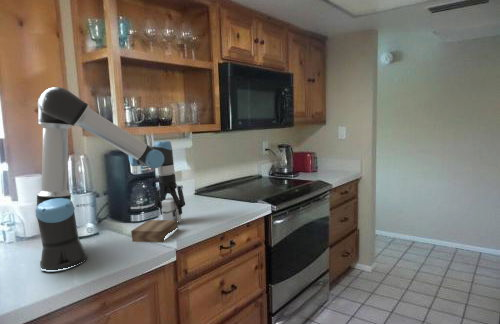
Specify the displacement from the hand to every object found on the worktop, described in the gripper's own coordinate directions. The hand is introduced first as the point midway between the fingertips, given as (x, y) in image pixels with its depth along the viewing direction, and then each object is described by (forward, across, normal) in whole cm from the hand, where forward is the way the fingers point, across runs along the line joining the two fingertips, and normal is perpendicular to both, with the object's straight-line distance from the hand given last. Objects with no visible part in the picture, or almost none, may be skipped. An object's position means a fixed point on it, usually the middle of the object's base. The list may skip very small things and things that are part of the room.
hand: (172, 221), depth 162 cm
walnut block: (+1, 0, +16) cm, 16 cm away
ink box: (+1, 0, 0) cm, 1 cm away
